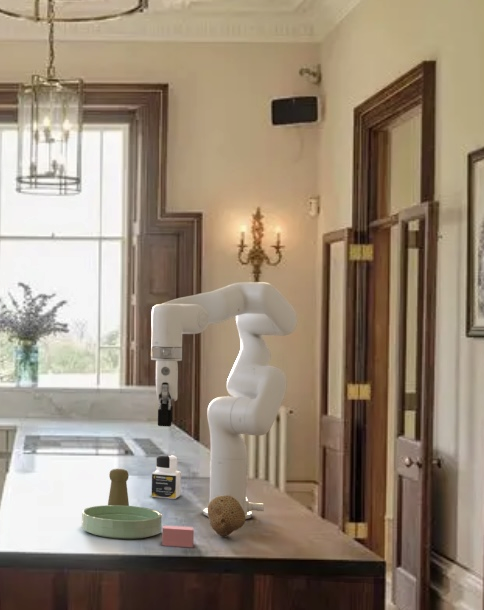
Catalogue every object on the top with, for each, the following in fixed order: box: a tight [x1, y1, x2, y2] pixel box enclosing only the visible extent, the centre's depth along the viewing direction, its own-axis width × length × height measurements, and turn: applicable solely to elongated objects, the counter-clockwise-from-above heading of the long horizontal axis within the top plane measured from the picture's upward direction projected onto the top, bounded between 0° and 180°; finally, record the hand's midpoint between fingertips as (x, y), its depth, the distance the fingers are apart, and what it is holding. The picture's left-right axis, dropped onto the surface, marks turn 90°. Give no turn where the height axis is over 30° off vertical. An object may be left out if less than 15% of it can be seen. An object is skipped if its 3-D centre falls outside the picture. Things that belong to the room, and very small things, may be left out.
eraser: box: [161, 525, 195, 548], centre depth 233 cm, size 7×3×4 cm, turn 79°
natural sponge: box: [206, 495, 246, 538], centre depth 243 cm, size 9×9×10 cm
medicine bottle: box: [151, 454, 182, 500], centre depth 295 cm, size 7×7×12 cm
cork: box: [107, 468, 130, 506], centre depth 274 cm, size 6×6×11 cm
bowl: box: [81, 504, 163, 540], centre depth 246 cm, size 19×19×4 cm
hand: (165, 423), depth 248 cm, fingers open, 9 cm apart
